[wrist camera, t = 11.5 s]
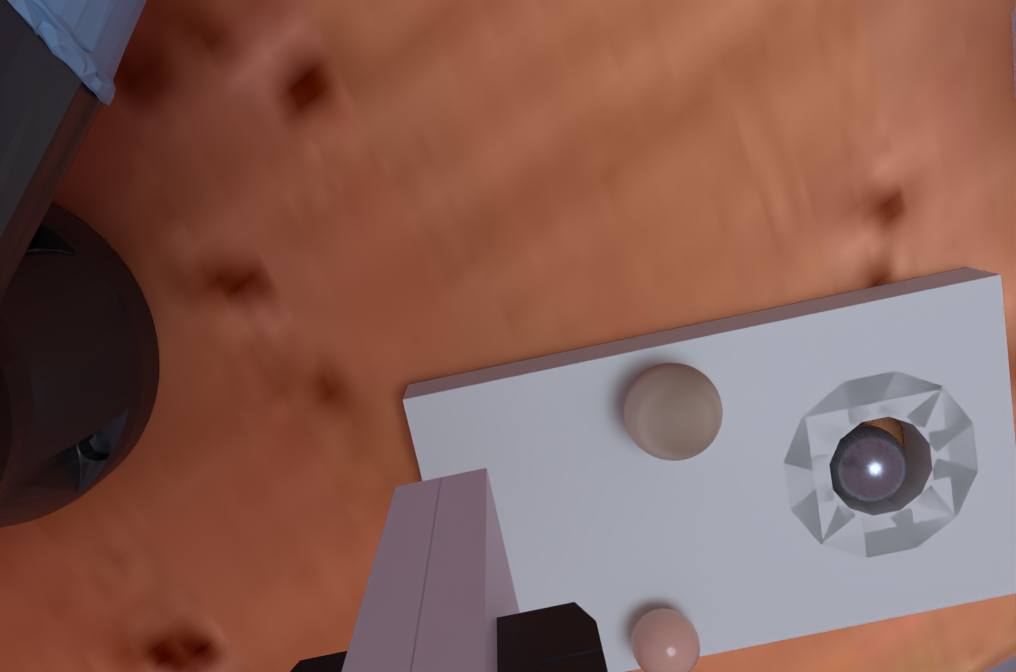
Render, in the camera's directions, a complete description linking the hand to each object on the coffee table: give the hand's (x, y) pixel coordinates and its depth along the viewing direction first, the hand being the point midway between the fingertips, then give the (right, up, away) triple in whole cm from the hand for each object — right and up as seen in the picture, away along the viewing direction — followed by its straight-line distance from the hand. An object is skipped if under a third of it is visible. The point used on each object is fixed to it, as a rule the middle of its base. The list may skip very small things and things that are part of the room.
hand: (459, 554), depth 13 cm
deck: (+10, -3, +26) cm, 28 cm away
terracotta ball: (+8, -10, +23) cm, 26 cm away
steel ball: (+17, -2, +24) cm, 30 cm away
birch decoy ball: (+8, 0, +20) cm, 22 cm away
